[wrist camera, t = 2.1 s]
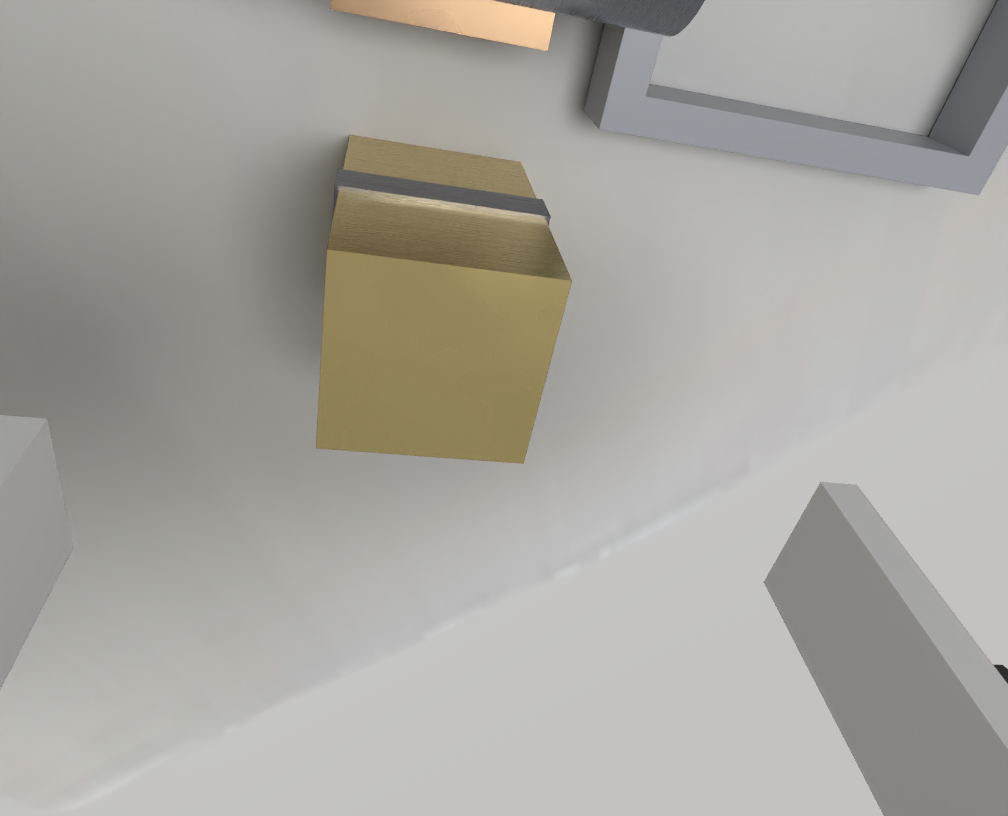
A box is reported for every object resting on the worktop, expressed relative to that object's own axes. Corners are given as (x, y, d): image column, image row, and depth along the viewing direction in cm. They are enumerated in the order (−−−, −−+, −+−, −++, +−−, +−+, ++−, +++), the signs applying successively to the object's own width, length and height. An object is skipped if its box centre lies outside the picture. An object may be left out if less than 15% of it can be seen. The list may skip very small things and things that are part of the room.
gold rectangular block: (336, 295, 23) (311, 451, 17) (346, 130, 20) (322, 244, 14) (493, 313, 24) (526, 466, 18) (524, 159, 22) (577, 277, 15)
